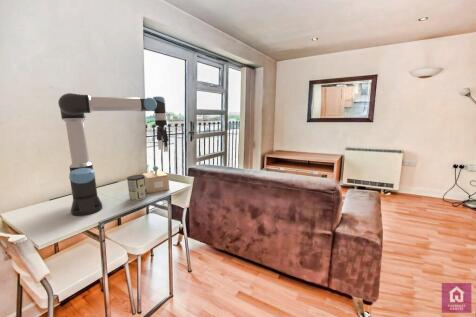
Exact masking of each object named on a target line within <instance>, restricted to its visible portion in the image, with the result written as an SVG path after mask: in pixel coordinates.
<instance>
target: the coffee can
mask: <svg viewBox="0 0 476 317" xmlns="http://www.w3.org/2000/svg"><path fill="white" fill-rule="evenodd" d="M144 177H145V176H144V175H142V174H134V175H130V176H128V177H126V180H127V188H128V195H129V200H130V201H141V200H144V199H146V198H147V191H146V188H145V178H144Z"/></svg>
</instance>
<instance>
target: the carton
mask: <svg viewBox="0 0 476 317" xmlns="http://www.w3.org/2000/svg"><path fill="white" fill-rule="evenodd" d="M152 172H153V171H150V172H144V173H142V174H141V175H144V176H145V177H144V178H145V188H146V193H148V194H153V193H159V192H164V191H163V190H165V191H169V190H170V183H169V182H170V180H169V175H168V176H164V177H157V176H156V175H155V174H153V173H152Z"/></svg>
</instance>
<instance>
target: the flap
mask: <svg viewBox="0 0 476 317" xmlns="http://www.w3.org/2000/svg"><path fill="white" fill-rule="evenodd" d="M152 169H153V171H151V172H152V173H153V174H155V175H156V176H157V177H164V176H168V177H169V175H168V174H167V173H166V172H164V171H163V170H159V166H157V165H154V166H153V167H152Z"/></svg>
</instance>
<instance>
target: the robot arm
mask: <svg viewBox="0 0 476 317" xmlns="http://www.w3.org/2000/svg"><path fill="white" fill-rule="evenodd" d="M57 104H58V107H59V110H60V116H61V117H60V118H61V120H63V121H64V122H65V127H66V132H67V140H68V147H69V153H70V159H71V164H70V165H69V176H68V178H69V182H70V188H71V195H72V203H71V207H70V213H71V214H70V215H72V216H75V217H76V216H77V217H79V216H80V217H81V216H86V215H91V214H94V213H97V212H99V211H101V210H103V209H104V208H103V203H102V201H101V199H100V197H99V195H98V190H97V189H98V188H97V183H96V173H95V170H94V167H93V163H92V162H90V159H89V151H88V144H87V138H86V131H85V129H86V128H85V123H84V121H85V120H87V118H86V115H87V114H92V112H122V111H123V112H125V111H126V112H127V111H128V112H129V111H130V112H131V111H136V112H154V120H155V121H154V122H155V123H154V126H156V140H157V147H158V150H163V152H164V153H165V152H166V153H167V152H169V144H168V143H169V137H168V132H167V127H166V126H167V124H168V123H167V120H166V119H167V110H166V100H165V97H164V96H153V97H116V96H115V97H113V96H111V97H110V96H90V95H89V94H80V93H79V94H77V93H72V92H71V93H70V92H69V93H64V94H62V95H61V96H60V97H59V99H58V102H57Z"/></svg>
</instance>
